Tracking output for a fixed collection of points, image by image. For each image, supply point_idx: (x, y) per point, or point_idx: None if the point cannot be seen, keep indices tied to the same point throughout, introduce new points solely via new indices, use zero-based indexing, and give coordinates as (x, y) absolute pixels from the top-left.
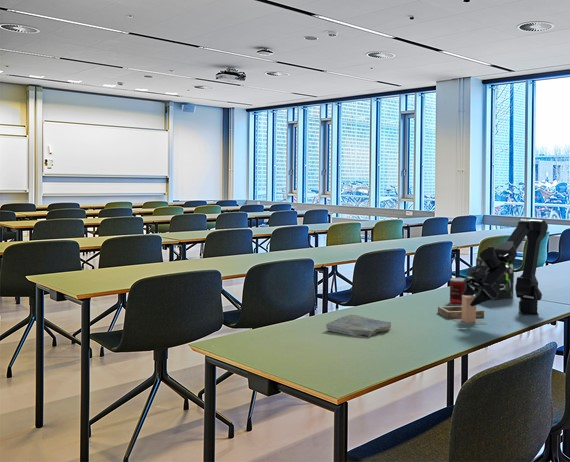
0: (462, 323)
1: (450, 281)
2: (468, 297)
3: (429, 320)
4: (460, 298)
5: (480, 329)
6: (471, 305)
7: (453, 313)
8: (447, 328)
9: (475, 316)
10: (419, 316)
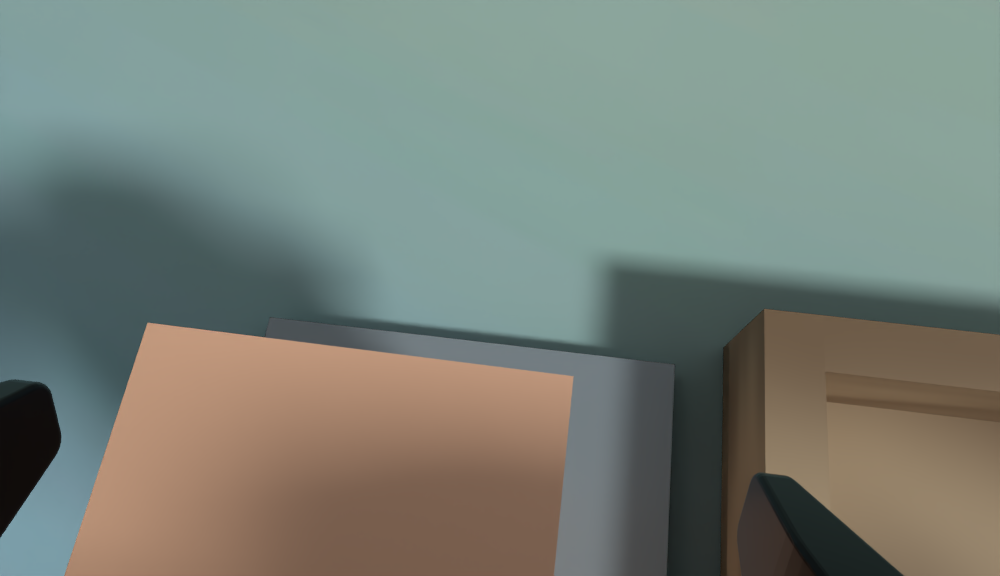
0: None
1: None
2: (125, 413)
3: (726, 88)
4: (800, 499)
5: None
6: (22, 416)
7: (755, 421)
8: (266, 98)
9: None
10: (981, 71)
